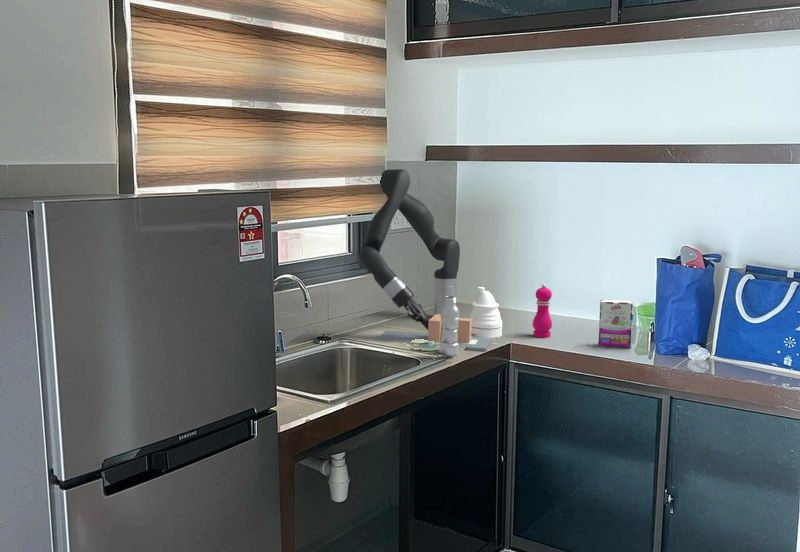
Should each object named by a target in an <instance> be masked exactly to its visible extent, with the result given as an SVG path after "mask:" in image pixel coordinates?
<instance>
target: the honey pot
mask: <svg viewBox="0 0 800 552" xmlns="http://www.w3.org/2000/svg"><path fill="white" fill-rule="evenodd" d="M485 289H486V288H485V286H484V287H483V286H477V290H478V292H479V293H480V295H478V297H477V299H476V301H474V302H472V303H471V304H472V307H473V308H472V310H471V311H470V316H469V318H468V319H472V326H471V335H473V337H487V338H492V339H496V338H495V337H498V338H500V336H501V337H502V336H503V320H502V318H501V313H500V311H499V305H500V304H499V303H497V302H496V300H495V297H494V296H493V294H492V293H491V292H490V291H488V290H485Z"/></svg>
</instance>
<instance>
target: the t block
mask: <svg viewBox="0 0 800 552" xmlns="http://www.w3.org/2000/svg"><path fill="white" fill-rule="evenodd" d="M428 320H429V324H428V330H427V331H428V332H427V333H428V341H435V342H438V343H440V342H441V336H442V322H441V315H440V314H435V315H434V316H432V317H431V318H430V319H428ZM471 326H472V319H469V318H468V317H467V318H463V317H459V323H458V342H460V343H470V341H471V336H472V334H471Z"/></svg>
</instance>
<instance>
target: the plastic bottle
mask: <svg viewBox="0 0 800 552" xmlns="http://www.w3.org/2000/svg"><path fill="white" fill-rule="evenodd" d="M445 303H446V304H445V305H444V307H443V308H442V310H441V322H442V336H441V343H440V345H439V353H440V354H441V356H444V357H449V358H452V357H457V355H458V354H459V352H460V347H459V344H458V323H459V318H460V316H461V313H460V310H459V307H458V306H457V296H456V297H454V296H446V297H445ZM455 303H456V304H455Z"/></svg>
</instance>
